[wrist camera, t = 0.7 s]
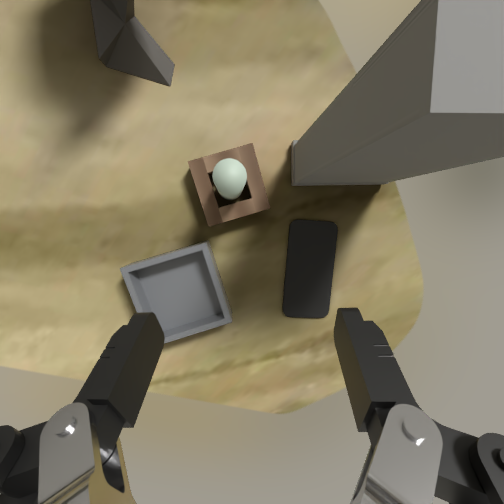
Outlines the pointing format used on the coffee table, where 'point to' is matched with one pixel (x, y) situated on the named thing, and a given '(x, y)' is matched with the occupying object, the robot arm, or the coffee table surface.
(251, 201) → the brown hollow square block
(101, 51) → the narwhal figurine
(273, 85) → the coffee table surface
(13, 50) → the coffee table surface
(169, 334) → the tray
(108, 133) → the coffee table surface
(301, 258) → the phone
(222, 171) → the pale green rounded cylinder
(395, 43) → the tall grey upright box
